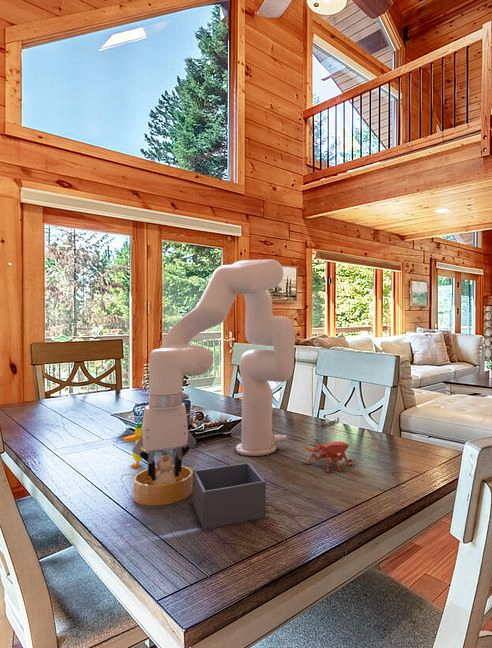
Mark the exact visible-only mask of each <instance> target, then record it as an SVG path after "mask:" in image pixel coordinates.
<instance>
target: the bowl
mask: <svg viewBox="0 0 492 648" xmlns="http://www.w3.org/2000/svg"><path fill="white" fill-rule="evenodd" d="M169 470H171V471H173V472H174V464H173V465H172V467H171V468H170V469H169ZM159 471H161V470H159V469H158V467H157V466H155V475H156V474H157V473H158V472H159ZM193 471H194V470H193V469H192V468H191V467H188V466H186V465H181V471H180V472H179V477H176V482H174V483H169V484H163V485H153V481H152V480H151V476H148V468H146V469H143V470H142V471H139V472H137V473H136V474H135V475H134V476H133V478H132V481H133V482H132V501H134V502H135V503H136V504H138V505H143V506H147V507H151V506H152V507H153V506H158V507H159V506H165V505H171V504H175V503H177V502H181V501H183V500H185V499H187V498H188V497H190V496H192V481H193Z"/></svg>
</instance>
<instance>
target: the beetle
mask: <svg viewBox="0 0 492 648" xmlns="http://www.w3.org/2000/svg"><path fill="white" fill-rule="evenodd" d="M339 423H340V417H336V419H335V420H332V421H329V422H326V423H323V424H320V427H321V430H324V429H327V428H329V427H332V426H334V425H337V424H339ZM309 446H312V447H313V448H310V447H308V446H306V445H303V447H304V449H305V450H306V451H307V452H312V453H311V456H310V459H309V461H307V460H305V461H304V465H310V463H311V462H312V460H313V458H314V459H315V461H320V460H321V459H324V458H325V460H326V461H325V462H326V463H325V464H326V470H325V473H330V469H329V464H330V460H331V462H332V464H336V467H337V471H339V472H343V468H340V462H341V461H342V460H343V459H344V460H345V463H346V465H347V466H351V467H352V466H353V465H354V464H353V462H352V461H353V460H352V458H351V457H349V458H347V455H346V451H347V450H348V449H349V448H350V445H349V443H346V442H345V441H332V442H330V443H322V444H319V445H316V444H312V443H309ZM316 453H318V454H320V455H319V456H317V454H316ZM339 461H340V462H339ZM350 462H351V463H350Z"/></svg>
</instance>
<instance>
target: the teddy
mask: <svg viewBox="0 0 492 648" xmlns="http://www.w3.org/2000/svg"><path fill="white" fill-rule="evenodd" d="M172 465H174V459H173V457H171V455H168V452H167V451H163V452H162V453H161V455H160V457H158V459H157V461H156V467H158V469H159V470H161V471H159V472H158V473H157V474H156V475H155V480H154V481H153V485H163V484H169V483H174V482H176V476H175V474H174V472H173V471H171V470H169V469H170V468H171V467H172Z"/></svg>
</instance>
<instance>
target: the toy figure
mask: <svg viewBox="0 0 492 648" xmlns="http://www.w3.org/2000/svg"><path fill="white" fill-rule="evenodd" d="M142 425H143V422H136V426H135V428H134V434H131V435H127V436H124V437H123V439H122V440H123V441H125V442H126V443H130V442H134V443H135V444H136V443H137V441H138V440H139V439H140V438H141V436H142ZM140 449H142V450H144V448H143V446H141V448H140ZM144 451H145V452H147V451H146V450H144ZM132 458H133V460H134V462H133V463H132V464H131V467H132V468H133V469H135V468H139V467H141V466H142V465H141V464H140V462H141V461H142V460H143V458H142V457H141V456H139V455H137V454H135V453H133V452H132Z"/></svg>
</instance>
